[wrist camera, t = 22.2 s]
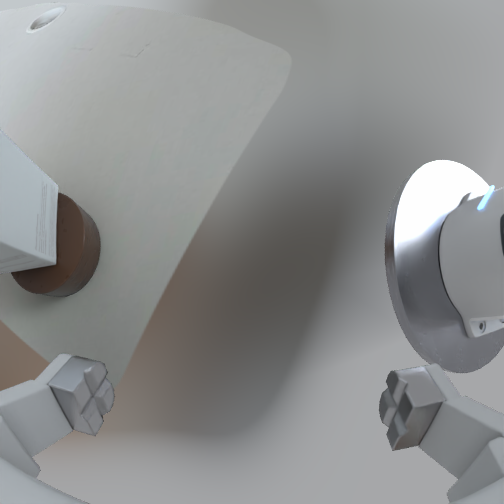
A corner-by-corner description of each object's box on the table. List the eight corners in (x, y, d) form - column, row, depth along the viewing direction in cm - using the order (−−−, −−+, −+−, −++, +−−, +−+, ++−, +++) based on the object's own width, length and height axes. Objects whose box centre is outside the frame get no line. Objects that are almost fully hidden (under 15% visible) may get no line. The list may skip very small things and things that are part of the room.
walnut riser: (111, 213, 26) (97, 198, 22) (89, 306, 24) (71, 305, 20) (41, 201, 25) (22, 187, 21) (20, 284, 23) (-3, 280, 19)
